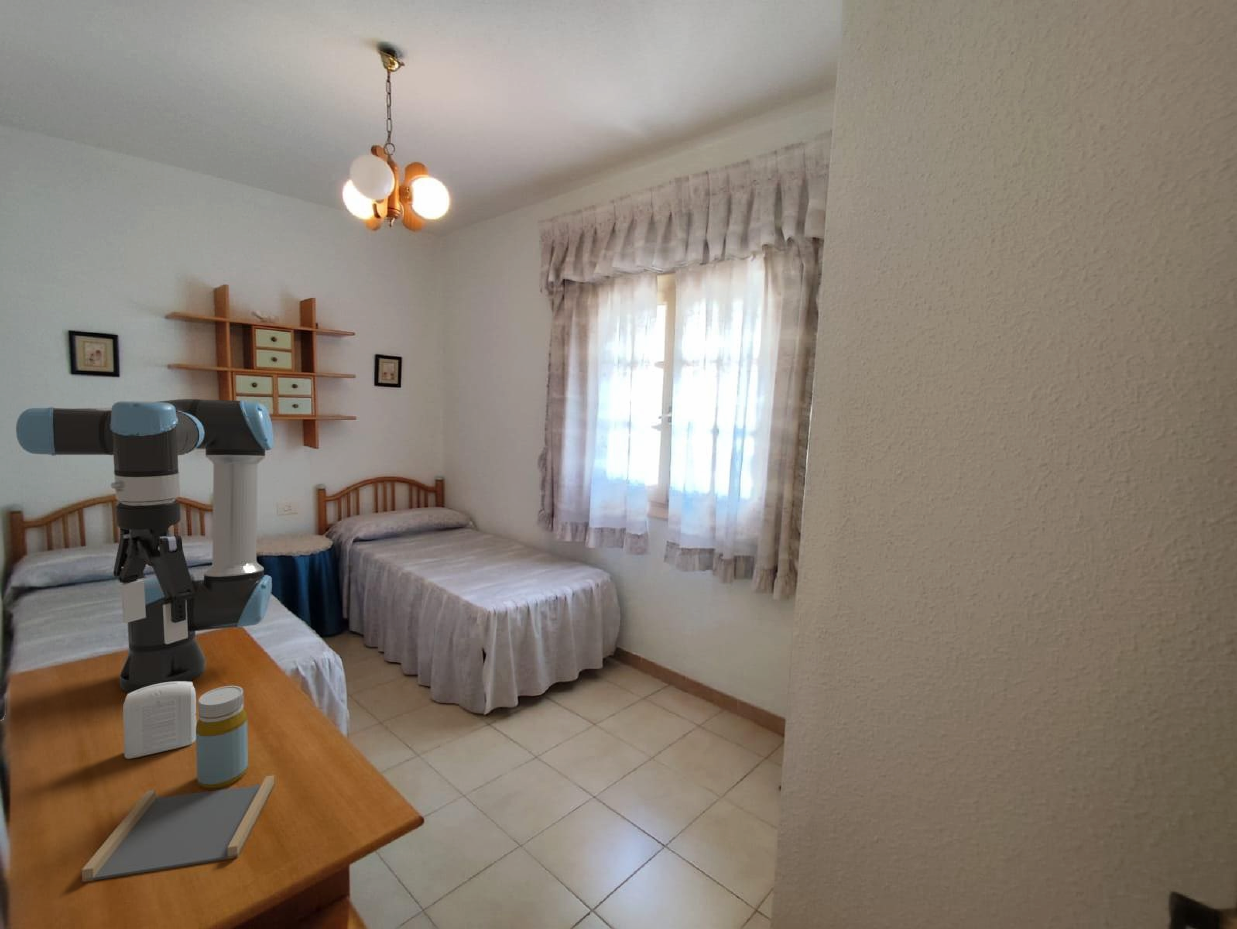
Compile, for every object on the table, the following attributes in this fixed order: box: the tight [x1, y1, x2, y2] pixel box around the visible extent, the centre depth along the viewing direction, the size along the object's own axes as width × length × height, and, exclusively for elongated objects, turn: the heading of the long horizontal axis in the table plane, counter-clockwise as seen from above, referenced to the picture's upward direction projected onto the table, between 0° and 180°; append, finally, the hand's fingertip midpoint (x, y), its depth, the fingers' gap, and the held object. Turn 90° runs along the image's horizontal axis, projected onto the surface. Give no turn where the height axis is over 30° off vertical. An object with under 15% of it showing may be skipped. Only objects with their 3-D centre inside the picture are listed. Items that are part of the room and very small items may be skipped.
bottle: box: [195, 685, 249, 790], centre depth 91 cm, size 7×7×15 cm
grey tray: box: [81, 775, 275, 883], centre depth 80 cm, size 15×18×2 cm
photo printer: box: [122, 681, 197, 760], centre depth 98 cm, size 10×4×12 cm, turn 123°
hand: (154, 630), depth 85 cm, fingers open, 13 cm apart
